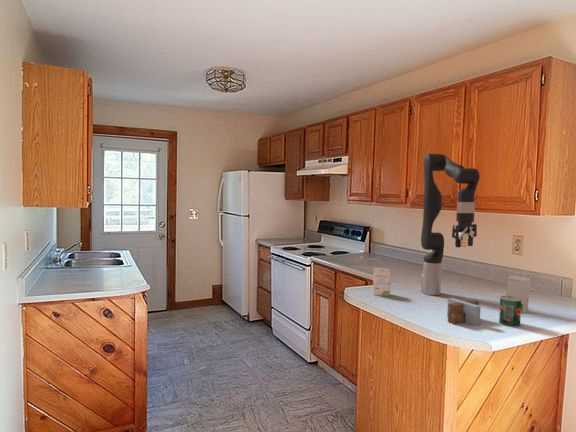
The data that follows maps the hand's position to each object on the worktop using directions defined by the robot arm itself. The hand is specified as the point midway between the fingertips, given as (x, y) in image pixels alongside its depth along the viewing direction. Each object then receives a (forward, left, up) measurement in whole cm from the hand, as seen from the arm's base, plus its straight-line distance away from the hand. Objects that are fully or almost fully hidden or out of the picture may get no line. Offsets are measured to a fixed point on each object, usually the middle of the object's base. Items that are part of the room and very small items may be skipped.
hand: (464, 246), depth 187 cm
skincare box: (+12, +24, -30) cm, 40 cm away
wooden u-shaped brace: (+10, -12, -30) cm, 34 cm away
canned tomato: (+22, +2, -30) cm, 37 cm away
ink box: (-39, -14, -30) cm, 51 cm away
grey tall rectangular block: (+10, -12, -30) cm, 34 cm away
